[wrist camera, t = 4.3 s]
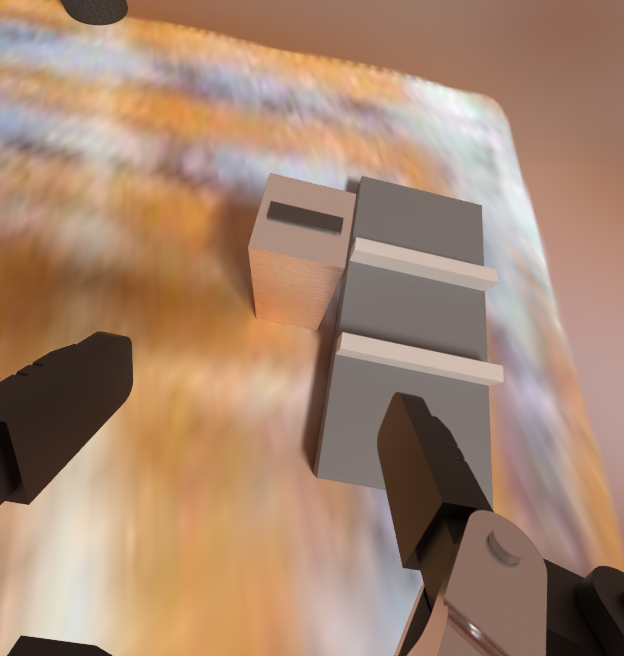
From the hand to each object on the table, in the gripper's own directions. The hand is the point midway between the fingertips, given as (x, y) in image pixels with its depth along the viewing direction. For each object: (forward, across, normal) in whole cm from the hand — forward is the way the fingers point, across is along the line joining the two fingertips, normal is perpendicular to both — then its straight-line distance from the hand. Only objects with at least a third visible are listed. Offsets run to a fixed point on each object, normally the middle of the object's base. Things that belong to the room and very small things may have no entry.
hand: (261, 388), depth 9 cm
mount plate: (+17, -10, +3) cm, 20 cm away
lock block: (+17, 0, +3) cm, 17 cm away
